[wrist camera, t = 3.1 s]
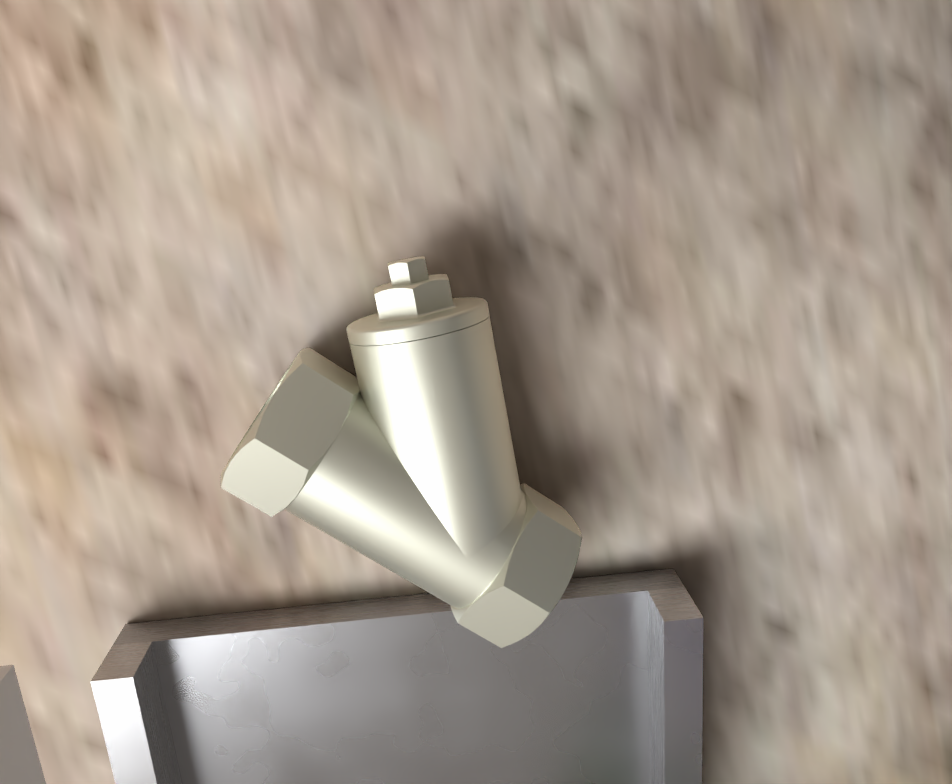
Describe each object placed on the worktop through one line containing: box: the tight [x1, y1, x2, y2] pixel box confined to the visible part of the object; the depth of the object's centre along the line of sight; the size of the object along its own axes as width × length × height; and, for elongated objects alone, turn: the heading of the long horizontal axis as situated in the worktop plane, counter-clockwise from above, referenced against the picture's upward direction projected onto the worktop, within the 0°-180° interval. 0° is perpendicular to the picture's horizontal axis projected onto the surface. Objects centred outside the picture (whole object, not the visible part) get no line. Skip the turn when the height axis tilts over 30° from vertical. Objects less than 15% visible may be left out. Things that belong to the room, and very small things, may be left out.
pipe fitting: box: [220, 256, 582, 648], centre depth 20 cm, size 8×4×7 cm
